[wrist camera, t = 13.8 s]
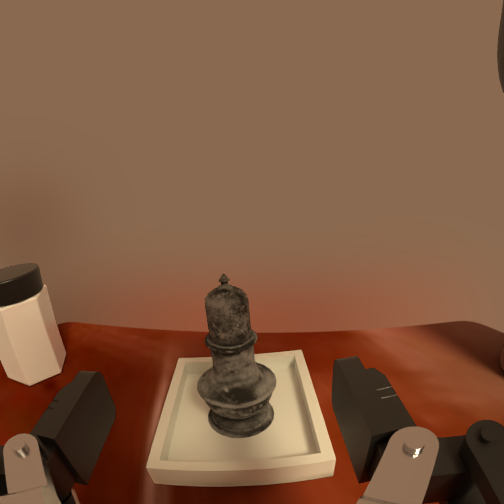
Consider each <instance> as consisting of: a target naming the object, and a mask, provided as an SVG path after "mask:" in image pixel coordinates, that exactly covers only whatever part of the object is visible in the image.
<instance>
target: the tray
mask: <svg viewBox="0 0 504 504" xmlns="http://www.w3.org/2000/svg"><path fill="white" fill-rule="evenodd" d="M254 357H255V362H257V363H260V364H263V365H265V366H266V367H268V368H269V369H271V371H272V372H273V373H274V374H275V377H276V387H275V389H274V391H273V393H272V396H271V398H270V400H269V403H270V404H271V406H272V407H273V410H274V419H273V421H272V423H271V425H270V426H269V427H268V428H267V429H266V430H264V431H263V432H261V433H259V434H257V435H254V436H251V437H246V438H230V437H227V436H223V435H221V434H219V433H217V432H216V431H215V430H214V429H213V428H212V427H211V426H210V424H209V422H208V414H209V411H210V409H211V408H210V407H209V406H208V405H207V404H206V402H205V400H204V399H203V398H201V397H200V395H199V393H198V390H197V383H198V380H199V378H200V377H201V376H202V375H203V373H204V372H205V371H207V370H208V369H210V368H211V367H213V361H212V357H200V358H179V359H178V362H177V365H176V369H175V372H174V375H173V378H172V381H171V384H170V388H169V391H168V394H167V397H166V401H165V404H164V407H163V410H162V414H161V417H160V420H159V424H158V427H157V430H156V434H155V437H154V441H153V444H152V447H151V451H150V454H149V458H148V461H147V465H146V469H147V471H148V473H149V475H150V477H151V479H152V480H153V482H154V484H165V485H179V486H204V487H228V486H254V485H268V484H279V483H288V482H297V481H304V480H311V479H317V478H323V477H329V476H333V473H334V468H335V462H336V458H335V455H334V451H333V448H332V445H331V442H330V438H329V435H328V432H327V429H326V425H325V422H324V419H323V416H322V413H321V409H320V406H319V403H318V400H317V397H316V394H315V390H314V387H313V384H312V381H311V378H310V375H309V371H308V368H307V365H306V362H305V359H304V356H303V353H302V350H295V351H285V352H275V353H264V354H254Z"/></svg>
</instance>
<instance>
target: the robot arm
mask: <svg viewBox="0 0 504 504" xmlns="http://www.w3.org/2000/svg"><path fill="white" fill-rule="evenodd" d="M497 59H498V71H499V78H500V83H501V87H502V90H503V92H504V0H503V8H502V14H501V21H500V28H499V37H498V51H497ZM500 365H501V368H502V369H503V371H504V346H503V349H502V353H501V356H500ZM332 405H333V410H334V413H335V416H336V419H337V421H338V424H339V427H340V430H341V433H342V436H343V439H344V441H345V444H346V447H347V450H348V453H349V456H350V459H351V462H352V465H353V468H354V471H355V474H356V476H357V479H358V482H359V483H364V482H367V481H370V483H369V485H368V487H367V489H366V491H365V493H364V494H363V496H362V497H360V499H359V500H358V502H357V503H356V504H424V503H434V502H439V504H504V426H502V425H501V424H499V423H498V422H495V421H492V420H482V421H478V422H476V423H474V424H473V425H471V426H470V427H469V429H468V431H467V433H466V435H463V436H455V437H444V438H439V437H436V436H435V435H434V433H432V432H431V431H429V430H428V429H425V428H422V427H417V426H416V425H415V423H414V421H413V420H412V418H411V416H410V415H409V413H408V411H407V410H406V408H405V407H404V405H403V403H402V402H401V400H400V399H399V397H398V396H397V395H396V392H395V390H394V389H393V387H391V384H390V383H389V381H388V379H387V378H386V376H385V375H384V374H382V373H381V372H379V371H378V370H376V369H375V368H369V369H365V368H364V366H363V365H362V363H361V361H360V359H359V358H358V357H357V356H354V357H348V358H342V359H336V360H335V361H334V366H333V383H332ZM115 416H116V410H115V405H114V402H113V400H112V397H111V395H110V393H109V390H108V388H107V385H106V383H105V380H104V378H103V375H102V374H101V373H100V372H92V371H80V372H79V373H78V374H77V375H76V377H75V378H74V379H73V381H72V382H71V383H69V384H68V385H66V386H65V387H64V388H62V389H61V390H60V391H59V392H58V393H57V395H56V396H55V398H54V399H53V402H51V403H50V405H49V406H48V409H46V410H45V412H44V413H43V415H42V416H41V418H40V419H39V421H38V422H37V424H36V425H35V427H34V428H33V430H32V431H31V433H30V434H18V435H16V436H14V437H12V438H10V439H9V440H8V441H7V443H6V444H5V446H0V504H80V503H79V500H78V498H77V495H76V493H75V491H74V489H73V488H72V487H73V484H74V482H75V483H79V484H84V485H87V484H88V482H89V479H90V477H91V474H92V472H93V469H94V467H95V465H96V462H97V460H98V457H99V455H100V453H101V450H102V448H103V446H104V443H105V441H106V439H107V436H108V434H109V432H110V429H111V427H112V425H113V423H114V420H115Z"/></svg>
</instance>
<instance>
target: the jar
mask: <svg viewBox="0 0 504 504" xmlns="http://www.w3.org/2000/svg"><path fill="white" fill-rule="evenodd" d="M65 357H66V351H65V348H64V345H63V342H62V339H61V336H60V333H59V330H58V327H57V323H56V320H55V317H54V313H53V310H52V307H51V303H50V299H49V295H48V291H47V287H46V285H43V283H42V279H41V275H40V270H39V266H38V265H37V264H34V263H26V264H19V265H14V266H10V267H6V268H3V269H0V360H1V362H2V365H3V367H4V369H5V371H6V374H7V376H8V377H9V378H10V379H13V380H16V381H18V382H21V383H23V384H26V385H29V386H31V385H34V384H36V383H38V382H41V381H43V380H45V379H48V378H50V377H52V376H55V375H57V374H59V373H61V371H62V367H63V364H64V360H65Z"/></svg>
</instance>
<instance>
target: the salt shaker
mask: <svg viewBox="0 0 504 504" xmlns="http://www.w3.org/2000/svg"><path fill="white" fill-rule="evenodd" d="M228 281H229V279H228V278H227V277H226V276H225V274H223V275H222V276H221V278H220V279H219V282H221V285H220V286H218V287H217V288H215V289H213V290H212V291H211V292H209V293H208V295H207V296H206V298H205V308H206V314H207V322H208V329H209V334H208V335H207V336H206V338H205V344H206V346H207V347H208V348H209V349H211V355H212V361H213V367H211V368H210V369H208V370H207V371H205V372H204V373H203V375H202V376H201V377H200V378H199V380H198V383H197V390H198V393H199V395H200V397H201V398H203V399H204V400H205V402H206V404H207V405H208V406H209V407H210V408H211V409H210V411H209V414H208V422H209V424H210V426H211V427H212V428H213V429H214V430H215V431H216V432H217V433H219V434H221V435H223V436H227V437H230V438H246V437H251V436H254V435H257V434H259V433H261V432H263V431H264V430H266V429H267V428H268V427H269V426H270V425H271V423H272V421H273V419H274V410H273V407H272V406H271V404H270V403H269V400H270V398H271V396H272V393H273V391H274V389H275V387H276V377H275V374H274V373H273V372H272V371H271V369H269V368H268V367H266V366H265V365H263V364H260V363H257V362H255V357H254V346H253V345H254V344H255V343H256V341H257V334H256V333H255V332H254V331H253V330H252V329H251V325H250V314H249V302H248V298H247V295H246V293H245V292H244V291H243V290H241V289H239V288H237V287H235V286H232V285H229V284H228Z"/></svg>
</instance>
